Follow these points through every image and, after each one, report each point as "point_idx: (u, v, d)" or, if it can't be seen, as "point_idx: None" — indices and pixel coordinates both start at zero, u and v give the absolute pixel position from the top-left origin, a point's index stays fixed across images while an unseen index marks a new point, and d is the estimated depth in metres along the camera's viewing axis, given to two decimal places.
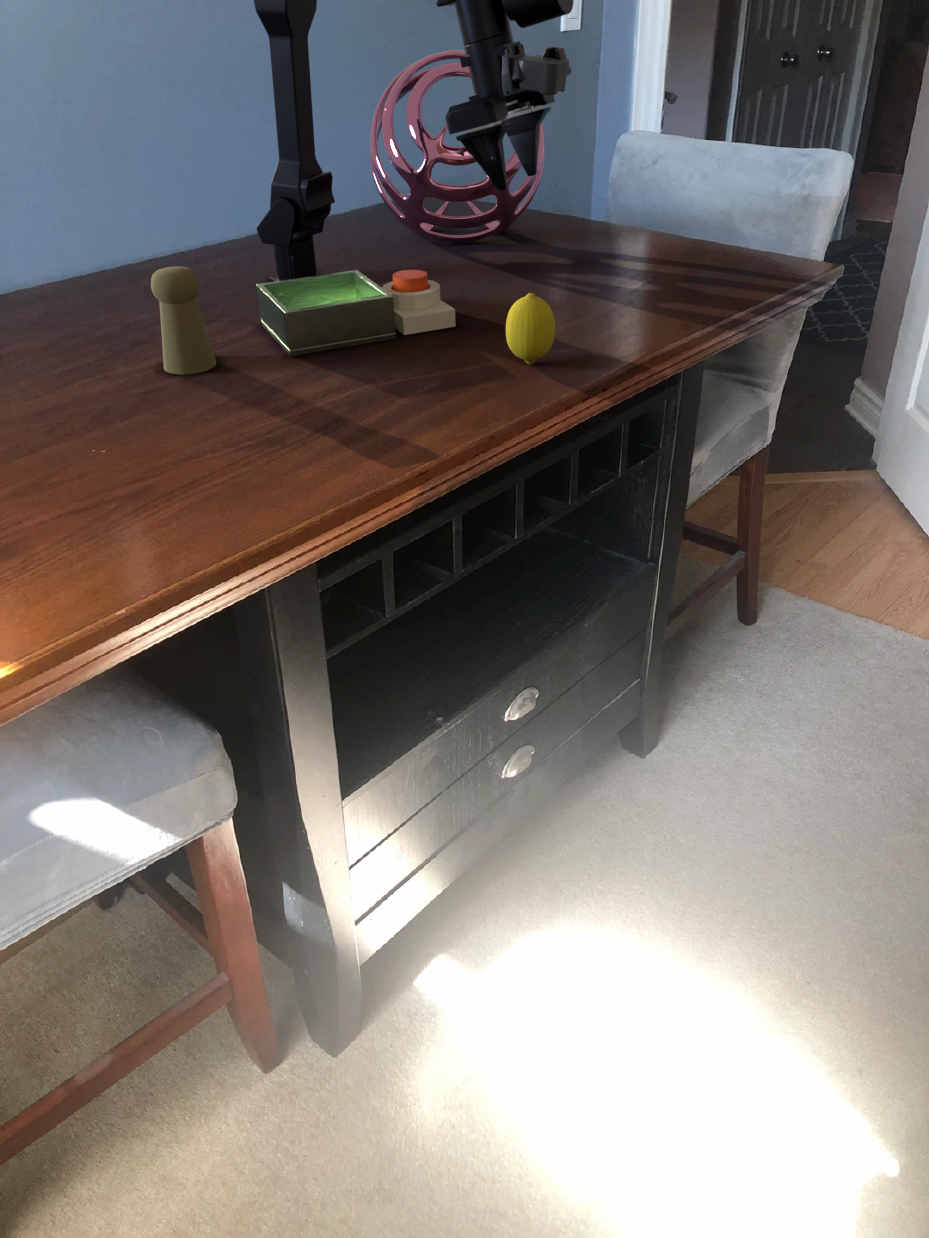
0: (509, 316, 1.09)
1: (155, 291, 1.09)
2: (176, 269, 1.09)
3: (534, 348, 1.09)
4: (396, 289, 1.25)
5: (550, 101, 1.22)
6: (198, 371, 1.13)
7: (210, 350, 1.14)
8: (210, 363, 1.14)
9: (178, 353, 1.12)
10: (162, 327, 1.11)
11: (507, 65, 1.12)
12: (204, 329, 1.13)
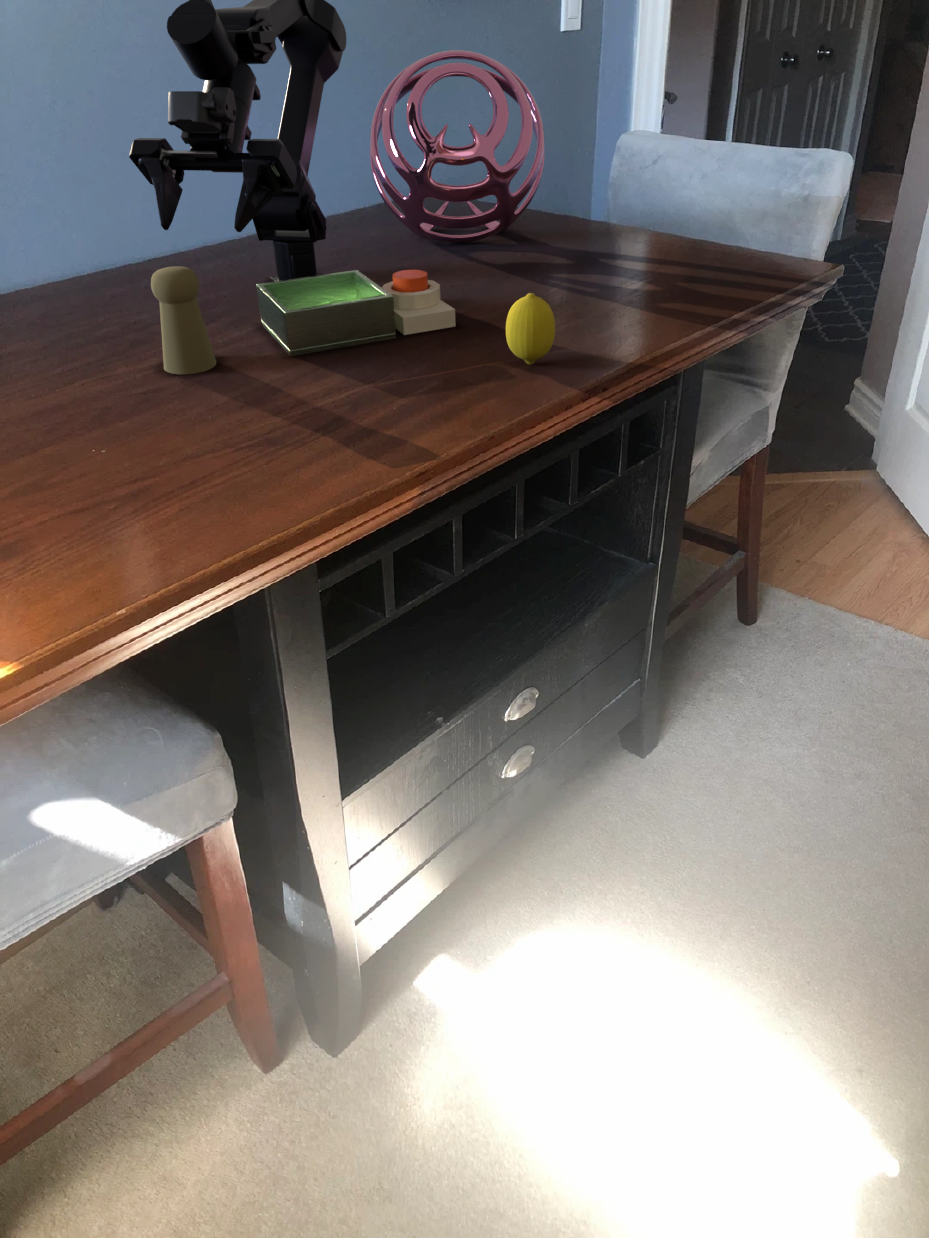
0: (509, 316, 1.09)
1: (155, 291, 1.09)
2: (176, 269, 1.09)
3: (534, 348, 1.09)
4: (396, 289, 1.25)
5: (261, 154, 1.11)
6: (198, 371, 1.13)
7: (210, 350, 1.14)
8: (210, 363, 1.14)
9: (178, 353, 1.12)
10: (162, 327, 1.11)
11: None
12: (204, 329, 1.13)
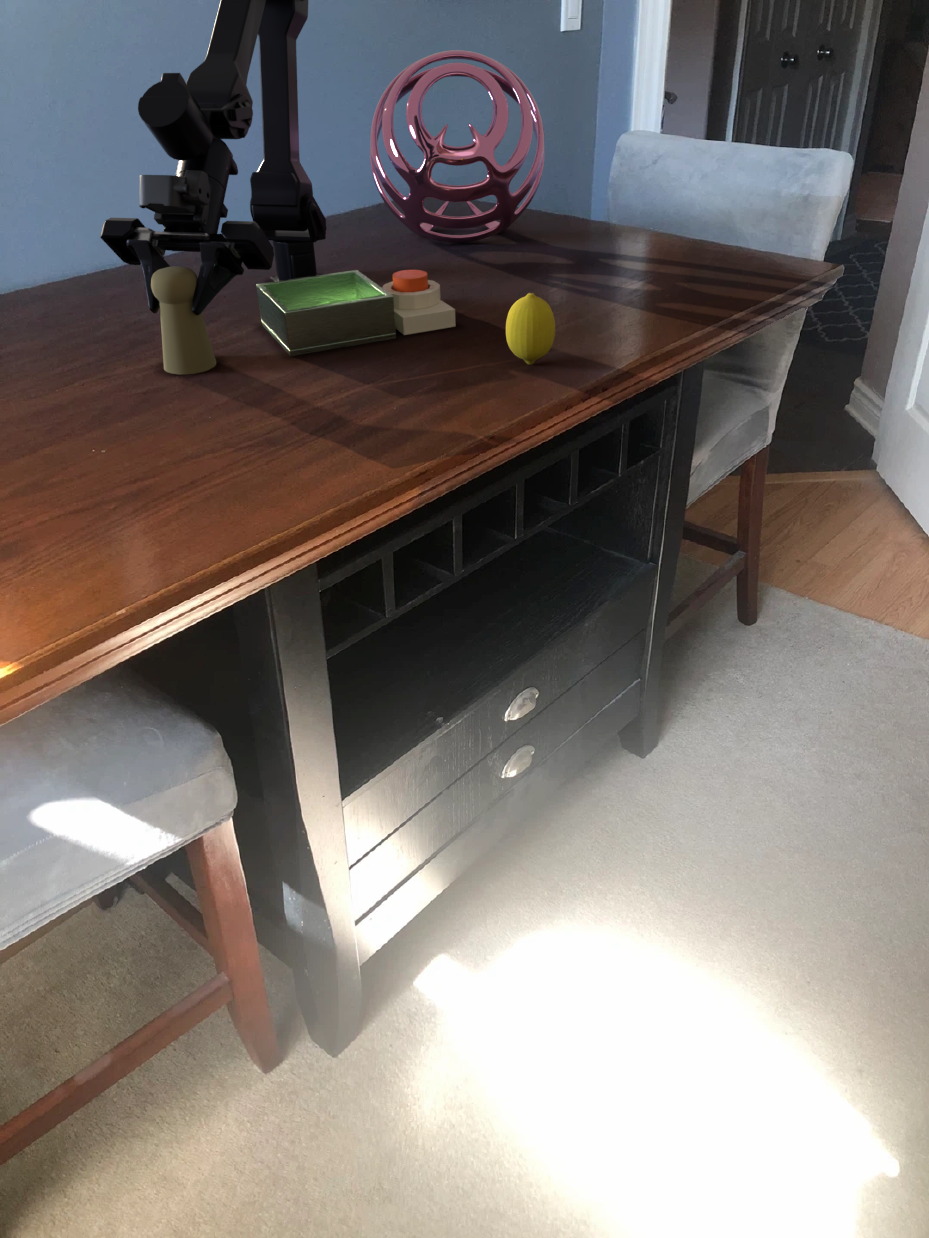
0: (509, 316, 1.09)
1: (155, 291, 1.09)
2: (176, 269, 1.09)
3: (534, 348, 1.09)
4: (396, 289, 1.25)
5: (236, 237, 1.07)
6: (198, 371, 1.13)
7: (210, 350, 1.14)
8: (210, 363, 1.14)
9: (178, 353, 1.12)
10: (162, 327, 1.11)
11: None
12: (204, 329, 1.13)
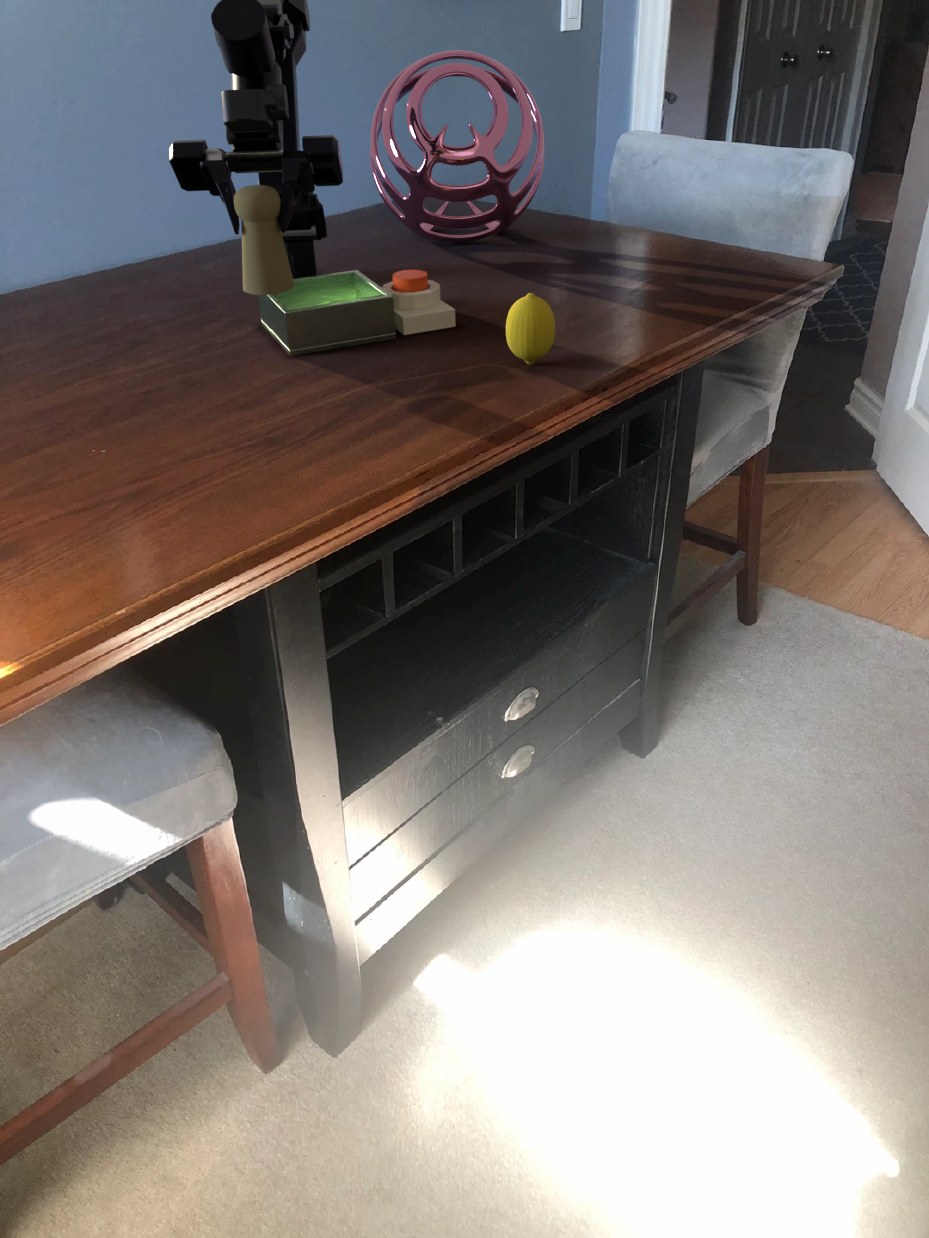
0: (509, 316, 1.09)
1: (243, 210, 1.09)
2: (260, 187, 1.09)
3: (534, 348, 1.09)
4: (396, 289, 1.25)
5: (320, 150, 1.09)
6: (284, 290, 1.14)
7: (290, 269, 1.15)
8: (292, 282, 1.15)
9: (266, 273, 1.12)
10: (247, 248, 1.11)
11: None
12: None
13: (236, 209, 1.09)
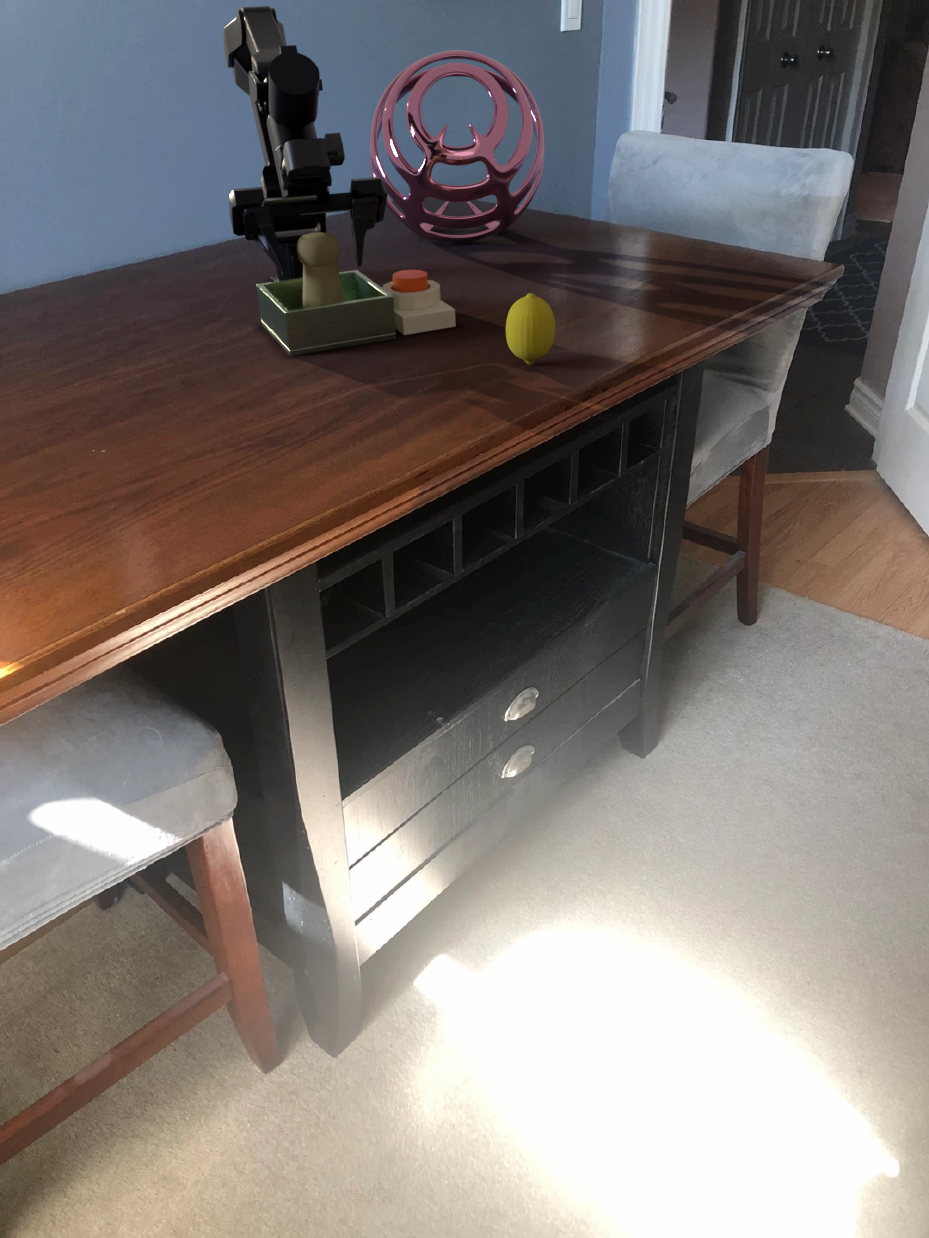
0: (509, 316, 1.09)
1: (311, 256, 1.17)
2: (322, 234, 1.18)
3: (534, 348, 1.09)
4: (396, 289, 1.25)
5: (372, 191, 1.18)
6: None
7: None
8: None
9: None
10: (312, 291, 1.19)
11: None
12: None
13: (302, 256, 1.17)
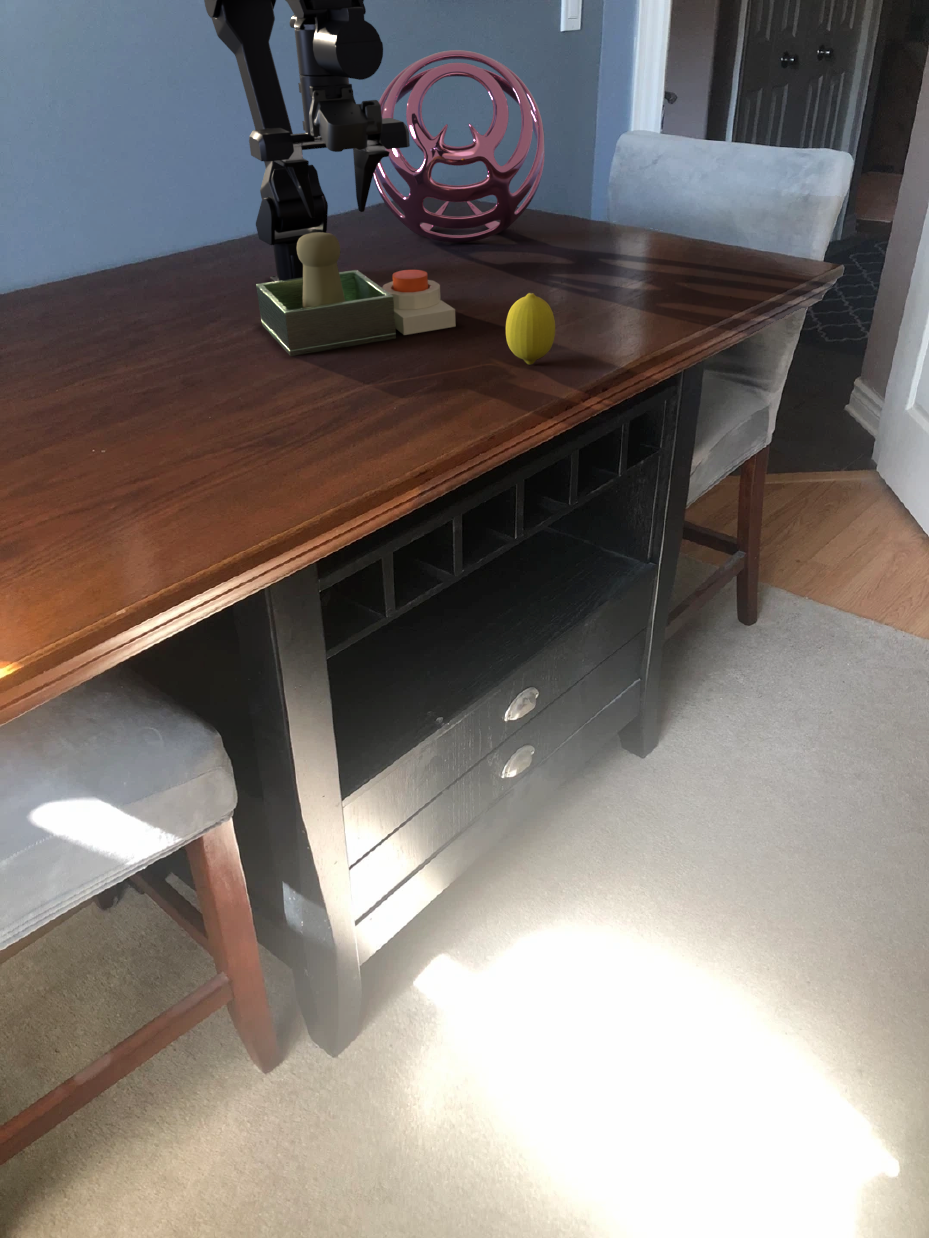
0: (509, 316, 1.09)
1: (311, 256, 1.17)
2: (322, 234, 1.18)
3: (534, 348, 1.09)
4: (396, 289, 1.25)
5: (396, 146, 1.21)
6: None
7: None
8: None
9: None
10: (312, 291, 1.19)
11: (312, 108, 1.15)
12: None
13: (302, 256, 1.17)
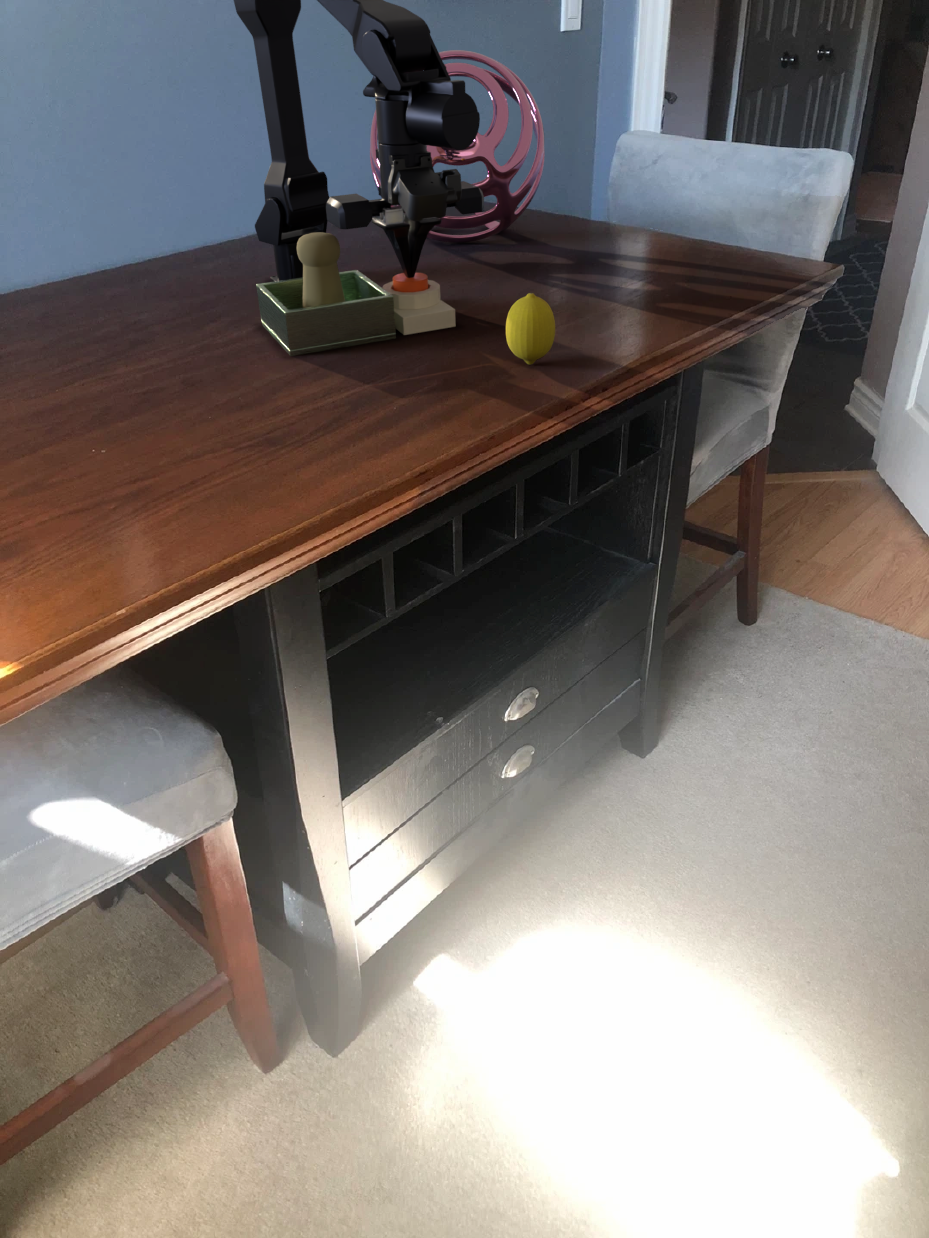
0: (509, 316, 1.09)
1: (311, 256, 1.17)
2: (322, 234, 1.18)
3: (534, 348, 1.09)
4: None
5: (471, 211, 1.21)
6: None
7: None
8: None
9: None
10: (312, 291, 1.19)
11: (392, 176, 1.15)
12: None
13: (302, 256, 1.17)
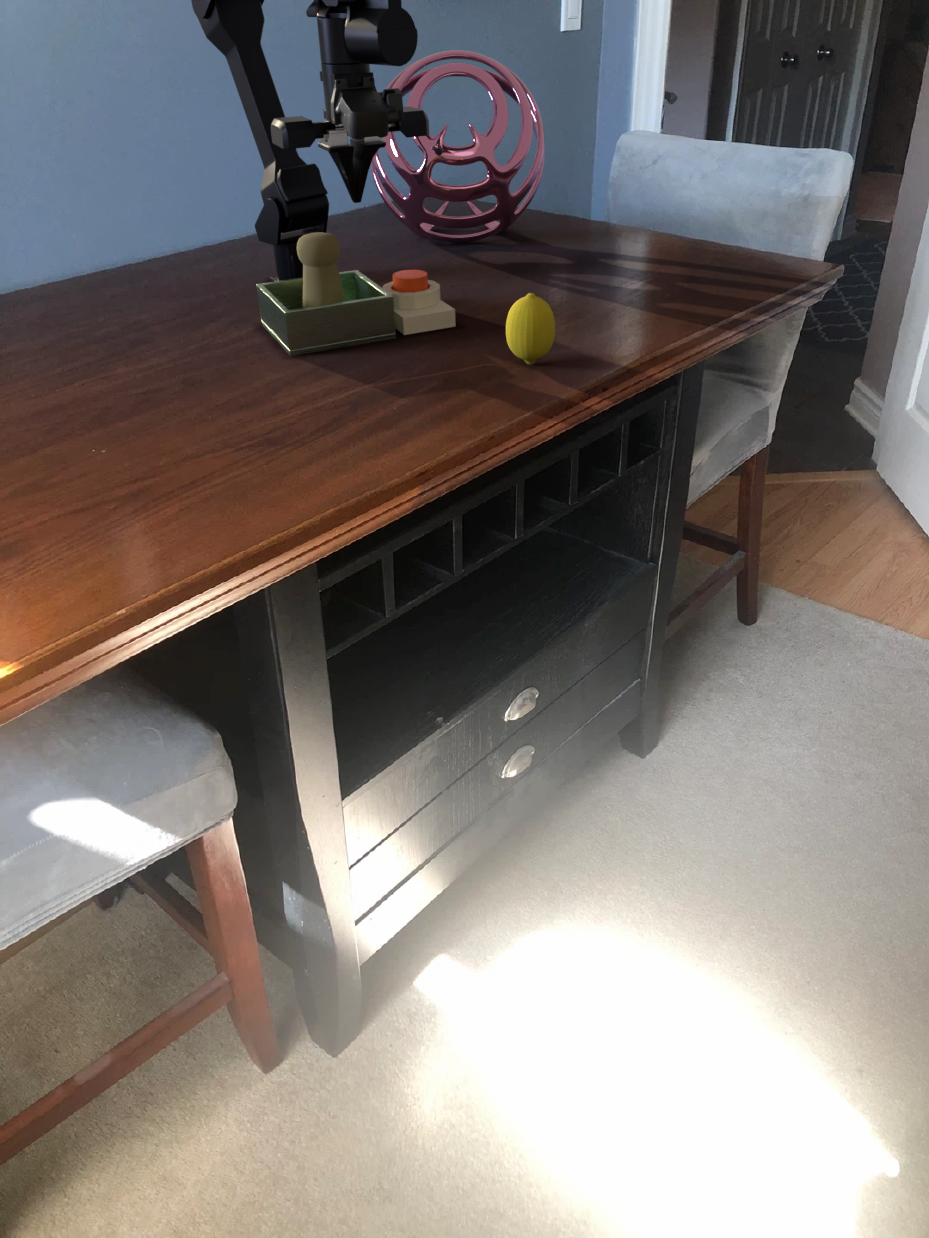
0: (509, 316, 1.09)
1: (311, 256, 1.17)
2: (322, 234, 1.18)
3: (534, 348, 1.09)
4: (396, 289, 1.25)
5: (416, 135, 1.22)
6: None
7: None
8: None
9: None
10: (312, 291, 1.19)
11: (334, 96, 1.16)
12: None
13: (302, 256, 1.17)
